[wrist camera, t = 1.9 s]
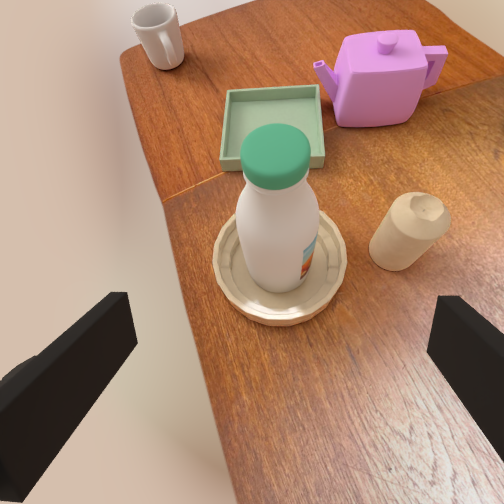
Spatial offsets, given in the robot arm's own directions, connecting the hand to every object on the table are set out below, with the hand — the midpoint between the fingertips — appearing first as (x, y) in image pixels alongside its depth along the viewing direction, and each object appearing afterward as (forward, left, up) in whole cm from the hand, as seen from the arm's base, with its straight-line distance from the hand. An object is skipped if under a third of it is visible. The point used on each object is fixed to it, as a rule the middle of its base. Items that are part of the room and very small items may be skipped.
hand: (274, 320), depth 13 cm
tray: (-1, +34, -22) cm, 41 cm away
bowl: (0, +11, -22) cm, 24 cm away
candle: (+14, +13, -22) cm, 29 cm away
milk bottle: (0, +11, -21) cm, 24 cm away
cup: (-21, +53, -22) cm, 61 cm away
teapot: (+14, +39, -22) cm, 47 cm away
